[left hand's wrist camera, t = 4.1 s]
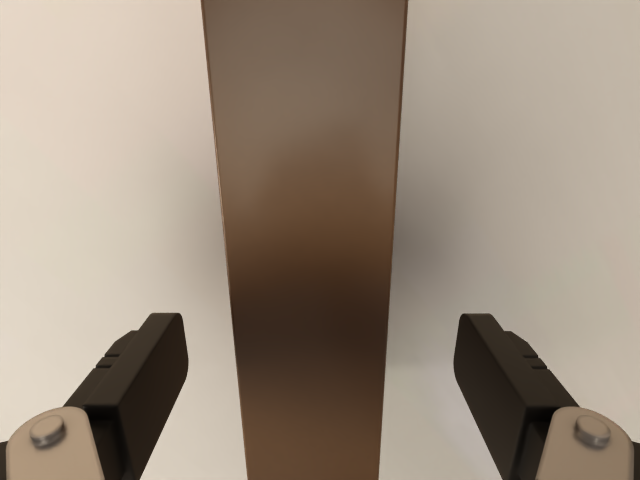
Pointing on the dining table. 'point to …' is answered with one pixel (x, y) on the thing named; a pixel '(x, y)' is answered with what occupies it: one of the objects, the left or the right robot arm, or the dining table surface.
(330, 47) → the beam
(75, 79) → the dining table surface
